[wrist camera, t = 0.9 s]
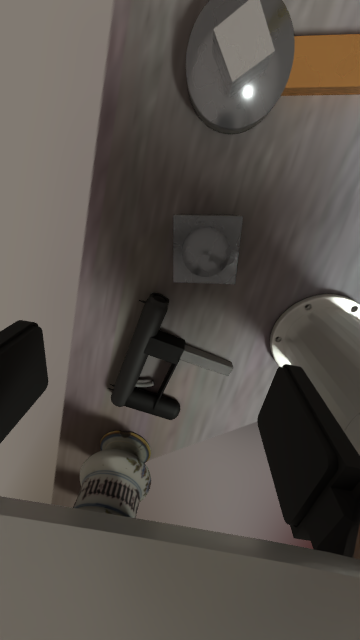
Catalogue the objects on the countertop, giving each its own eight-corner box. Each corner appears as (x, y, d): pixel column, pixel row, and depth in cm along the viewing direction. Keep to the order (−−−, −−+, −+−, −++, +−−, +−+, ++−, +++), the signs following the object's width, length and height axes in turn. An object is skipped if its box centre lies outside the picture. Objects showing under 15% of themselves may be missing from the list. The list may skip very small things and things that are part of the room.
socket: (233, 215, 27) (245, 216, 20) (228, 269, 29) (236, 287, 23) (179, 214, 27) (172, 215, 20) (178, 267, 30) (172, 285, 23)
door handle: (255, 338, 31) (138, 293, 28) (194, 433, 39) (99, 405, 37) (249, 326, 34) (143, 285, 31) (193, 417, 42) (106, 390, 40)
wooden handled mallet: (471, -9, 19) (553, -74, 14) (421, 132, 22) (473, 114, 18) (188, 4, 20) (185, -53, 16) (185, 134, 24) (182, 117, 20)
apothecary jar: (154, 427, 42) (126, 564, 26) (157, 470, 47) (135, 606, 31) (89, 423, 43) (22, 553, 27) (99, 466, 48) (47, 596, 32)
